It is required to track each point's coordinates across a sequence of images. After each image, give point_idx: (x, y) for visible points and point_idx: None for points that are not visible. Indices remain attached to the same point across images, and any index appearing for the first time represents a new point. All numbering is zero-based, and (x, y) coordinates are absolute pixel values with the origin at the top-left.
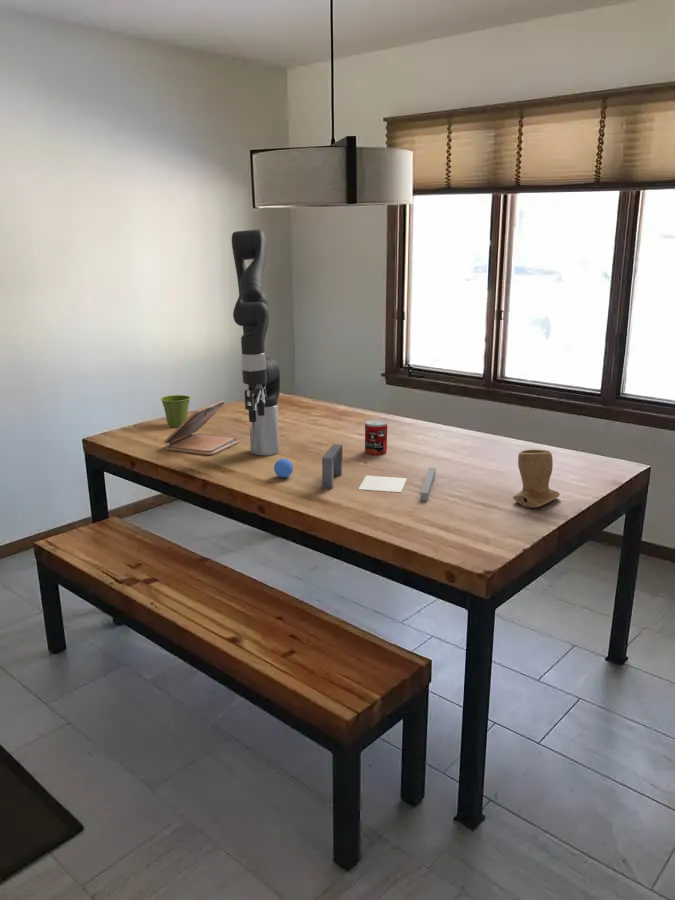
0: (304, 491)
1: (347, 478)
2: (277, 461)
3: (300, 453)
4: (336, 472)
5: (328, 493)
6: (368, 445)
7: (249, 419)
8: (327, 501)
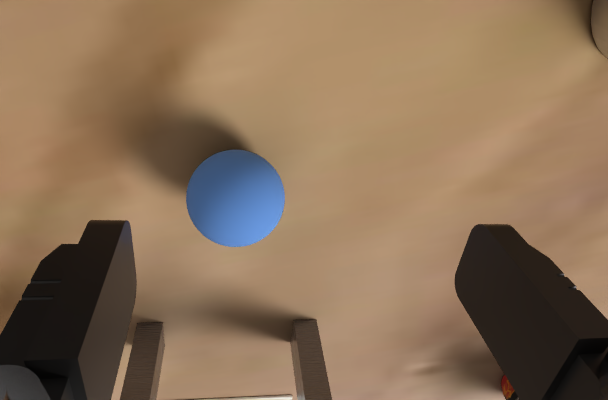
0: None
1: (261, 361)
2: (223, 195)
3: (585, 168)
4: (292, 339)
5: None
6: None
7: (81, 240)
8: None
